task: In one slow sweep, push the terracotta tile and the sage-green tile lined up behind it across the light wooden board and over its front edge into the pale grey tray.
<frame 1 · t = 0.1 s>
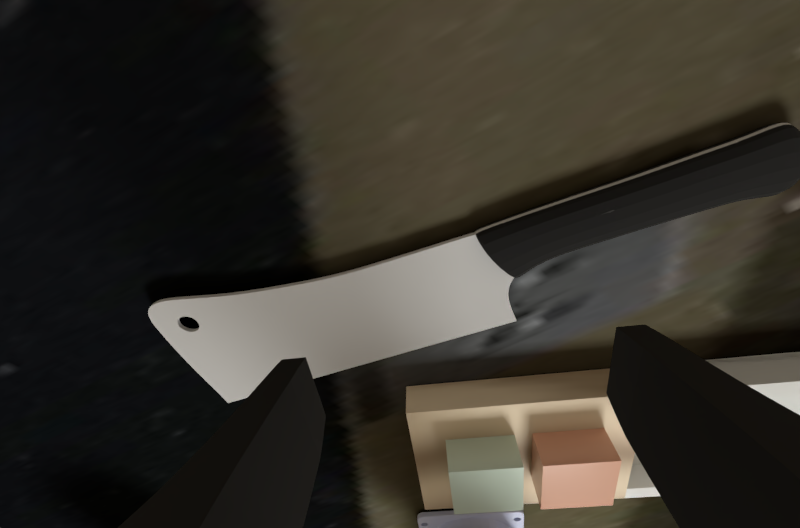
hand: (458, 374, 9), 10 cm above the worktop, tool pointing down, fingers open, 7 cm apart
sage tile: (481, 459, 23), point 2 cm above the worktop, touching wooden board
terracotta tile: (565, 453, 22), point 2 cm above the worktop, touching wooden board
kitchen cleaver: (445, 287, 20), on the worktop
wooden board: (515, 430, 25), on the worktop
grey tray: (719, 414, 23), on the worktop
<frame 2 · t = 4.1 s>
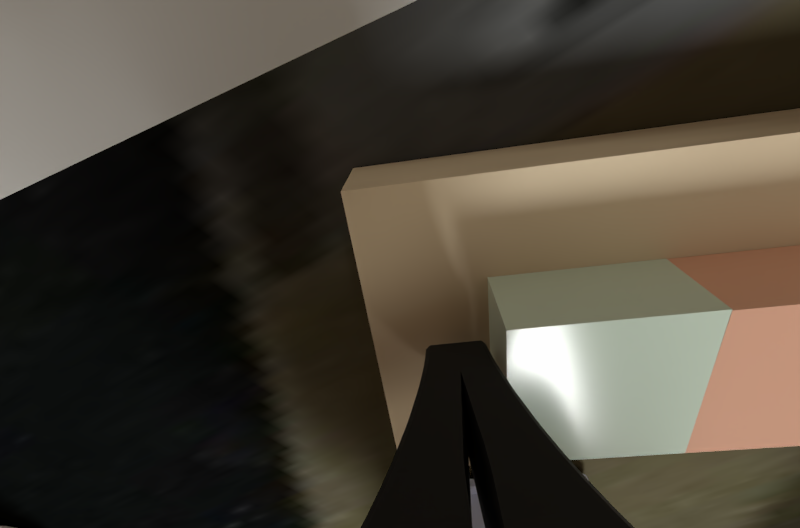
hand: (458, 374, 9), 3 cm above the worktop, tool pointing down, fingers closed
sage tile: (568, 336, 10), point 2 cm above the worktop, touching gripper, terracotta tile, wooden board
terracotta tile: (735, 321, 9), point 2 cm above the worktop, touching sage tile, wooden board
wooden board: (594, 295, 11), on the worktop
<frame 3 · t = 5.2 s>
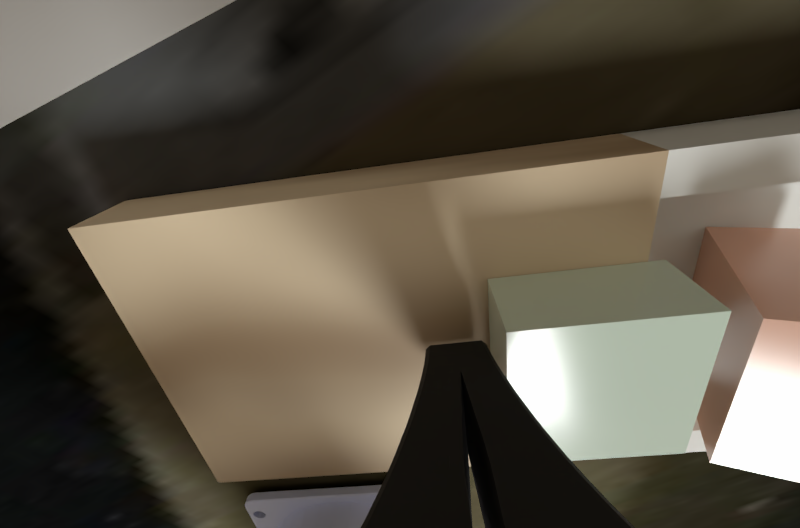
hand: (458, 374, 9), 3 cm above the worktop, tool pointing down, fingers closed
sage tile: (568, 337, 10), point 2 cm above the worktop, touching gripper
terracotta tile: (707, 336, 9), point 2 cm above the worktop, tilted 69°, touching grey tray
wooden board: (386, 317, 12), on the worktop
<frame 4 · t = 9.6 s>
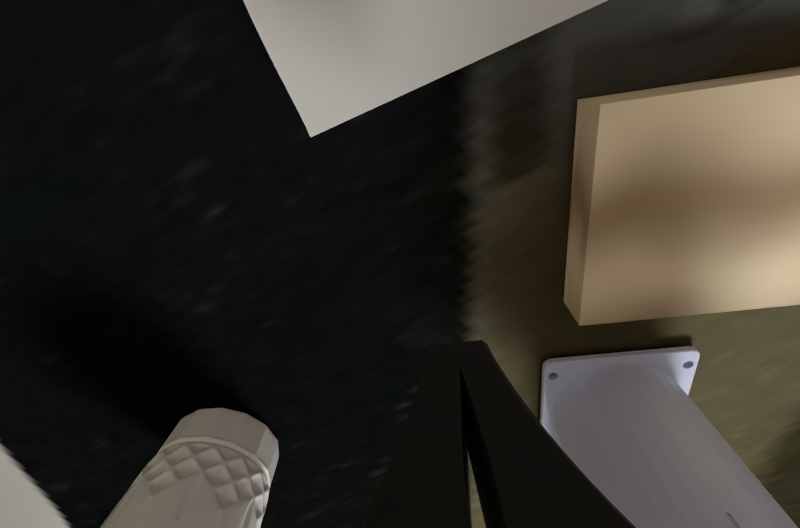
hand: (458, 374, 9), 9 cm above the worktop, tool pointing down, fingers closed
white cup: (230, 438, 25), on the worktop
wooden board: (724, 194, 16), on the worktop
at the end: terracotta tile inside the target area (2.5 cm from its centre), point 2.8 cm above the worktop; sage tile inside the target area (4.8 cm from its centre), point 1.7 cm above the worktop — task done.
